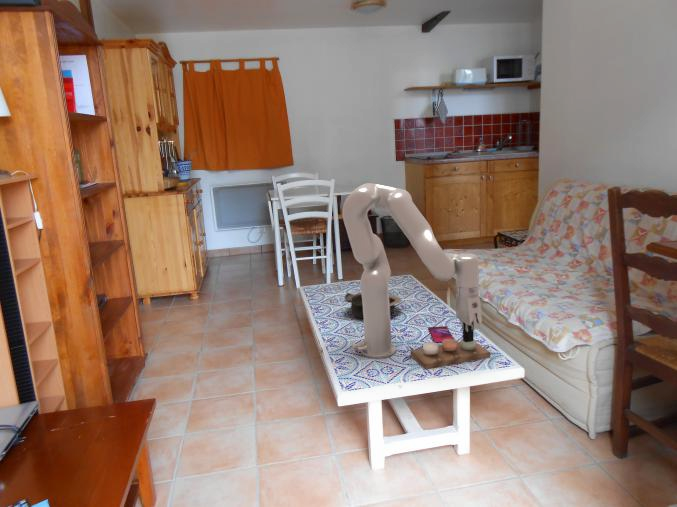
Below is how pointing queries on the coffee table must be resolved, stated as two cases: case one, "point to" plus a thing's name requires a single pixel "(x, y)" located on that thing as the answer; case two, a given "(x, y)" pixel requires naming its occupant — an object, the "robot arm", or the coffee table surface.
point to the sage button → (467, 345)
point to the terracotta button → (449, 344)
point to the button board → (448, 356)
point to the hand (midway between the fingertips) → (468, 340)
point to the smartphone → (440, 333)
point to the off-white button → (430, 348)
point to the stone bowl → (358, 305)
